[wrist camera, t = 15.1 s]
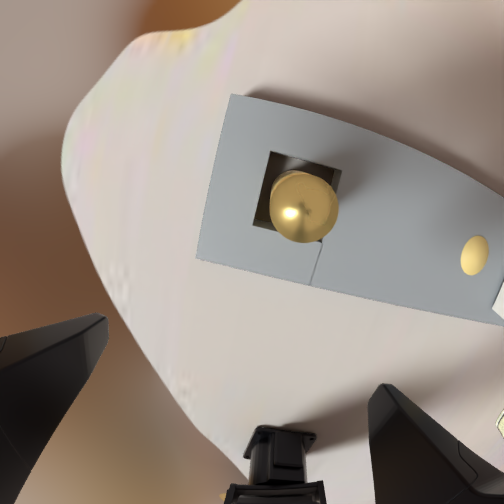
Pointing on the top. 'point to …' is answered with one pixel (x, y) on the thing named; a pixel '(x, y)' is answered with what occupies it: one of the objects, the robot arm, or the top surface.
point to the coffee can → (500, 423)
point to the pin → (302, 206)
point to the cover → (499, 303)
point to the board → (357, 215)
